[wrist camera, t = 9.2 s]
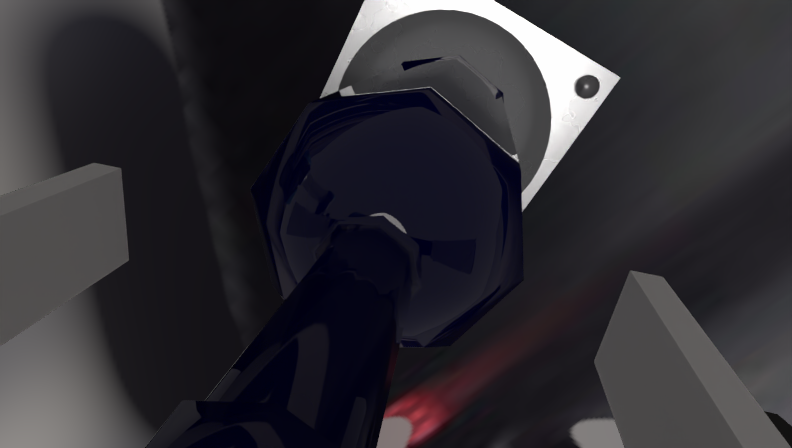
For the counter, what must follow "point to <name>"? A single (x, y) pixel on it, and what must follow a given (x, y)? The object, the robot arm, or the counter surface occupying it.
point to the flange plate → (486, 69)
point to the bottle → (368, 255)
